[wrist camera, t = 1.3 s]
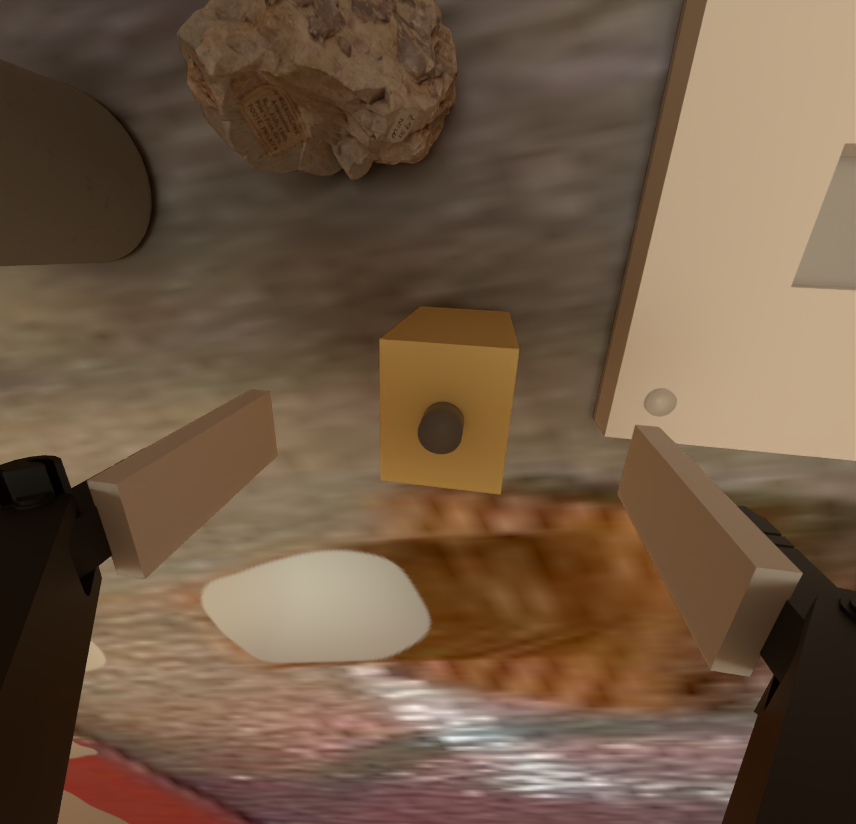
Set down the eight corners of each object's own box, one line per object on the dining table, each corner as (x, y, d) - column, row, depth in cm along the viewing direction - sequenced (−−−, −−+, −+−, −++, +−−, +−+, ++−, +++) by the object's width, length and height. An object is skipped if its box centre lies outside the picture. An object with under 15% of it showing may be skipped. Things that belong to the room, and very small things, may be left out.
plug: (428, 300, 25) (370, 346, 13) (507, 304, 25) (521, 357, 13) (424, 388, 28) (372, 496, 16) (496, 394, 27) (501, 512, 15)
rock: (465, 157, 24) (518, -78, 15) (358, 291, 21) (337, 99, 12) (342, 85, 25) (318, -188, 15) (219, 205, 22) (89, -48, 12)
